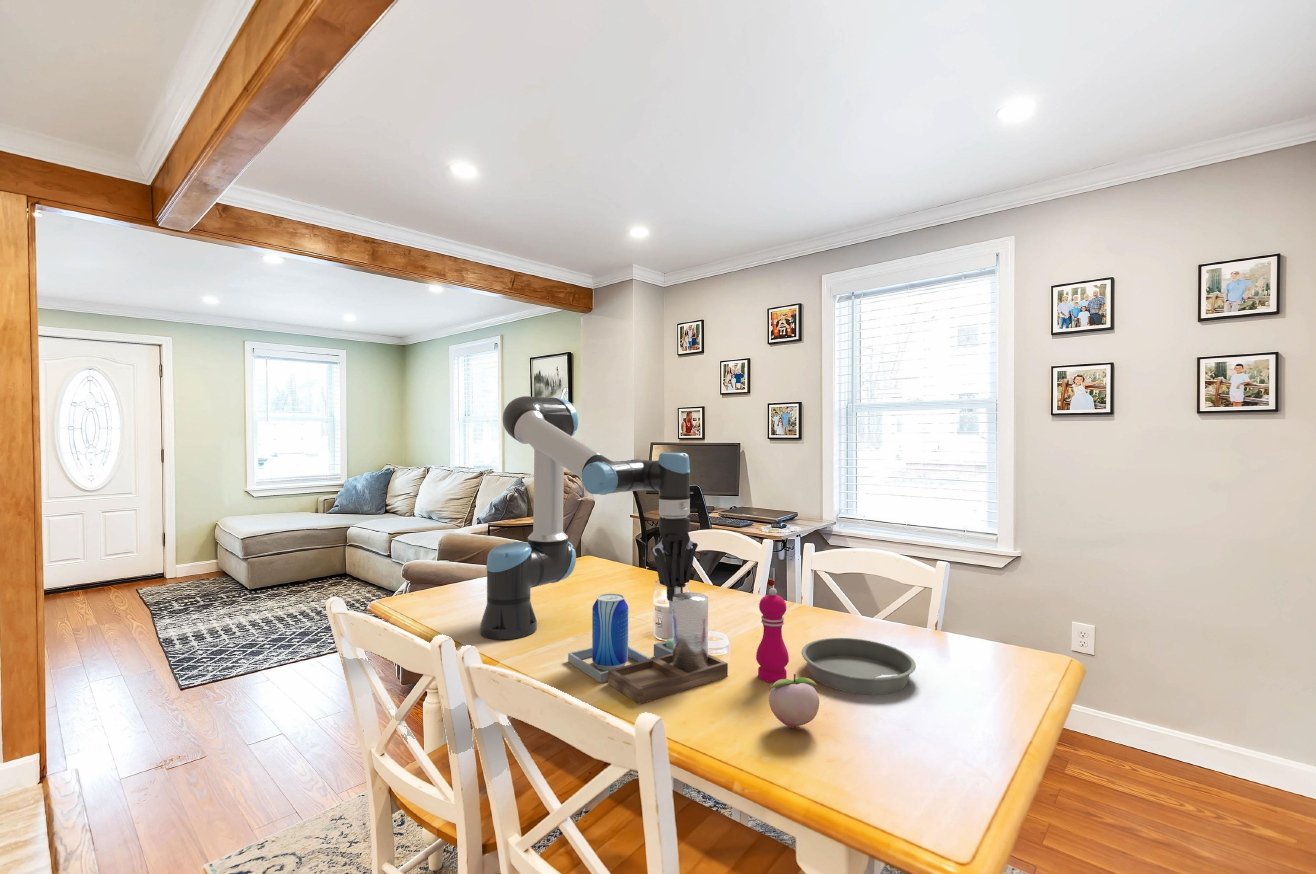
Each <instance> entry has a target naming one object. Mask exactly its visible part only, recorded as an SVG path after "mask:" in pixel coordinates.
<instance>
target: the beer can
mask: <svg viewBox="0 0 1316 874" xmlns="http://www.w3.org/2000/svg"><path fill="white" fill-rule="evenodd" d="M595 599H596V600H595V601H594V603H593V605H592V614H591V615H592V616H591V617H592V619H591V620H592V625H591V626H592V629H591V631H592V632H591V633H592V635H591V637H592V638H591V639H592V642H591V645H592V646H591V648H592V657H591V660H592V663H593V664H594V665H595V667H596V669H597V670H601V671H608V670H611V669H615V668H619V667H623V666H626V663H627V662H628V661H629V656H628V647H629V605H628V603H627V601H626V599H625V596H624V594H620V593H602V594H599V595H597V596H596V597H595Z"/></svg>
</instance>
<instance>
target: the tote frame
mask: <svg viewBox="0 0 1316 874" xmlns="http://www.w3.org/2000/svg"><path fill="white" fill-rule="evenodd" d="M587 658H592V647H589V648H585V649H580V650H576V651H572V652H571V651H570V652H568V653H567V662H568V663H570V664H571V665H572V666H575V668H578V669H579V670H580V671H582V672H583V673H584V674H586V675H588V676H589V677H590V678H593V680H595V681H597V682H598V683H600V684H603V683H606V682H608V671H607V670H604V671H600V669H598V668H595V667H594V666H593V665H590V663H588V662H586V661H584V659H587ZM628 658H631V659H632V658H633V659H632V660H634V659H635V660H634V661H636V660H637V661H636V662H637V663H638V662H641V661H645V660H649V659H652V658H650V657H649V656H647V655H645V654H643V653H642V652H640V651H638V650H636V649H634V648H632V647H630V646H628Z"/></svg>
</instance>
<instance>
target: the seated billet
mask: <svg viewBox="0 0 1316 874" xmlns="http://www.w3.org/2000/svg"><path fill="white" fill-rule="evenodd" d="M672 638H673V656H672V666H674V667H676V668H678V669H680V670H682V671H684V672H686V673H688V672H692V671H695V670H699V669H702V668H705V667H708V654H709V596H708V595H707V594H704V593H701V592H700V593H699V592H692V591H691V592H689V591H688V592H687V591H686V592H683V593H678V594H675V595H673V614H672Z"/></svg>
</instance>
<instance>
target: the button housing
mask: <svg viewBox="0 0 1316 874" xmlns="http://www.w3.org/2000/svg"><path fill="white" fill-rule="evenodd" d="M672 653H673V650H671V649H669V648H667V647H666V640H665V641H660V642H657V643H653V657H654V656H655V657H654V658H656V657H660V656H664V655H668V654H672Z"/></svg>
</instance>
